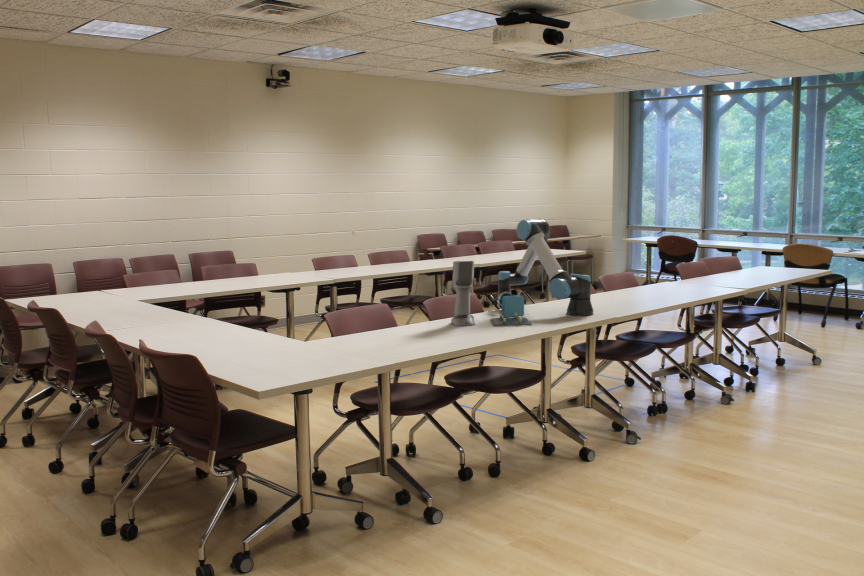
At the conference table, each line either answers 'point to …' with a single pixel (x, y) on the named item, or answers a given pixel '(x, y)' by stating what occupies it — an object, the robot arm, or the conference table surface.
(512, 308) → the teal square slab
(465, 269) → the grey pedestal post
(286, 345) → the conference table surface
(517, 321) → the chassis
